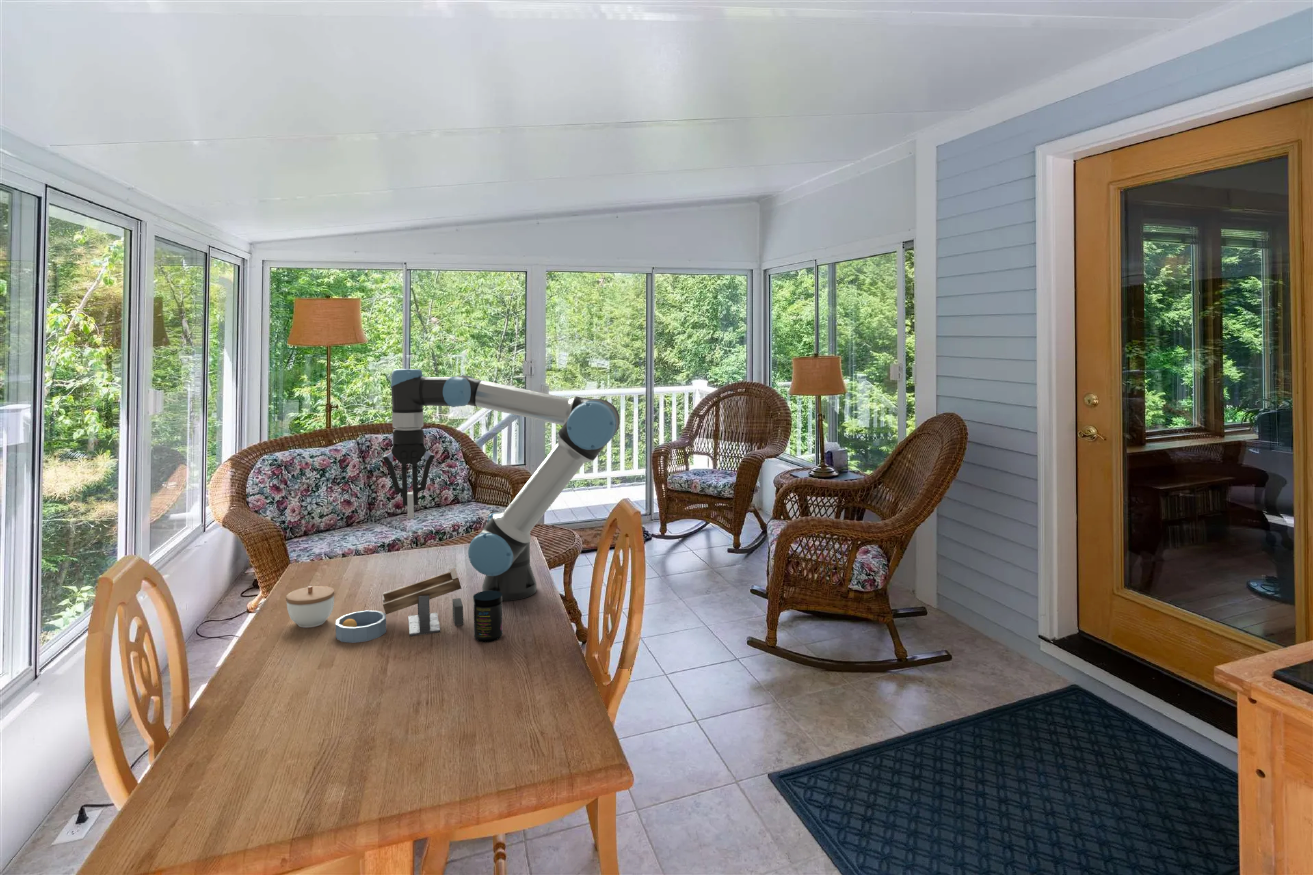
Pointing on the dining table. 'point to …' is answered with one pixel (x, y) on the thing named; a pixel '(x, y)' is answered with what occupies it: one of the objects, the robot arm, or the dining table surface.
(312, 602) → the lidded jar
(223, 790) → the dining table surface
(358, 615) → the bowl
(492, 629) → the supplement container
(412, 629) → the pivot stand
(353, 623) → the ball
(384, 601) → the lever
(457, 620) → the block
